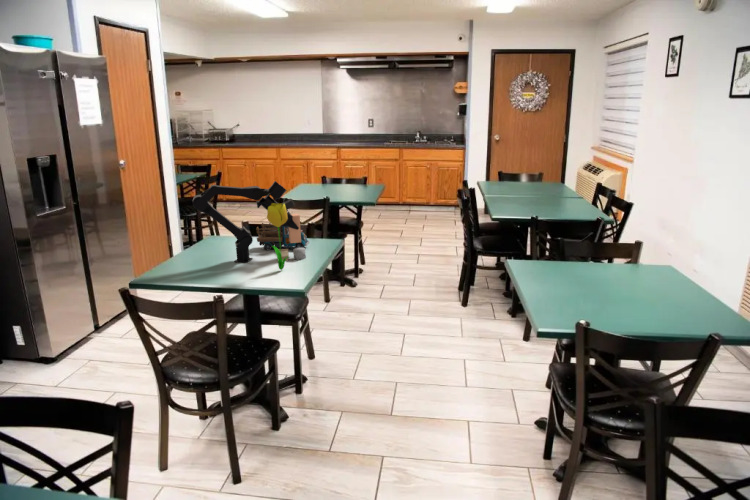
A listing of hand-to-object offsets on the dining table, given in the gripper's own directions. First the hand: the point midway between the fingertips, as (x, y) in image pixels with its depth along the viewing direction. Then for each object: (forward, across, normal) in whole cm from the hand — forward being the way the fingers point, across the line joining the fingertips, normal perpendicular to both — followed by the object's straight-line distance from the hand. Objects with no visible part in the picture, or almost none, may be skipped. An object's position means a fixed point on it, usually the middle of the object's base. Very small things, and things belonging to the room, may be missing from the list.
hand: (297, 227), depth 253 cm
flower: (+2, -22, +18) cm, 29 cm away
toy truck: (+6, +16, +13) cm, 21 cm away
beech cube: (+4, -5, +15) cm, 17 cm away
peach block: (+4, 0, +6) cm, 7 cm away
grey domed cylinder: (+9, -6, +10) cm, 15 cm away
